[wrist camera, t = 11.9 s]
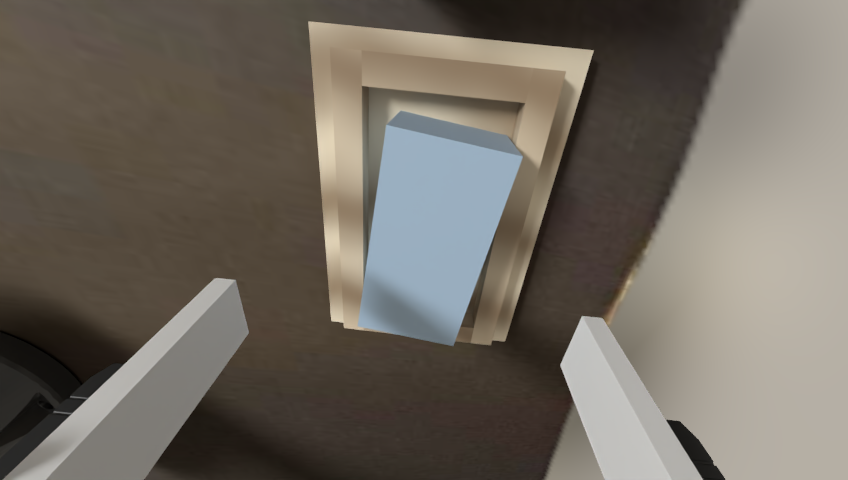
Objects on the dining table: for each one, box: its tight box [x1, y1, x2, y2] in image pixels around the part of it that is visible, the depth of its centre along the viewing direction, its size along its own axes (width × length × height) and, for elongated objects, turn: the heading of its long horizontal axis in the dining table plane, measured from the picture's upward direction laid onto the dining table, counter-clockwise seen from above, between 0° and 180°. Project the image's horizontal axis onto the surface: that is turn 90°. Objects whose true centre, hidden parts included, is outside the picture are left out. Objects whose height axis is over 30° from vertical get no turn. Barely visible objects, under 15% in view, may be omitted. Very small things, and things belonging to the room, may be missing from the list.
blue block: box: [358, 111, 523, 346], centre depth 18 cm, size 12×6×4 cm, turn 168°
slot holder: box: [308, 21, 594, 345], centre depth 20 cm, size 20×14×3 cm
